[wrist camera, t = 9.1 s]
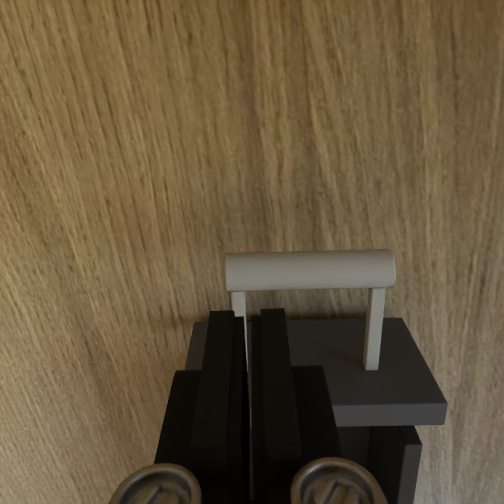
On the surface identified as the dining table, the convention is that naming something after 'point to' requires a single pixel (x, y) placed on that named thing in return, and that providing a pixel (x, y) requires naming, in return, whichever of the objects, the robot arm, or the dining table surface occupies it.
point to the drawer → (348, 358)
